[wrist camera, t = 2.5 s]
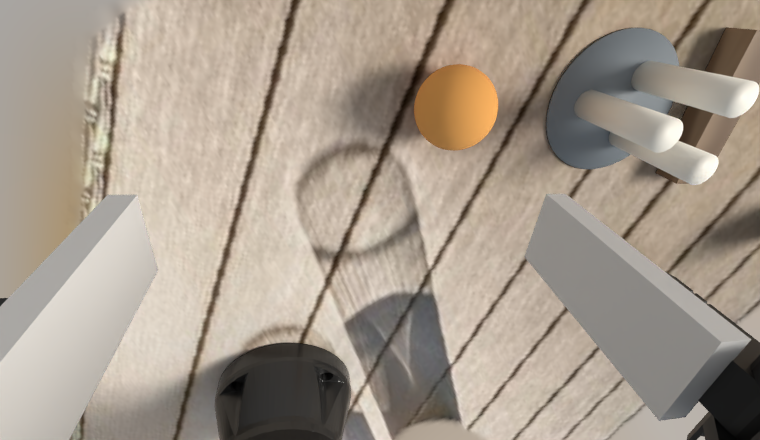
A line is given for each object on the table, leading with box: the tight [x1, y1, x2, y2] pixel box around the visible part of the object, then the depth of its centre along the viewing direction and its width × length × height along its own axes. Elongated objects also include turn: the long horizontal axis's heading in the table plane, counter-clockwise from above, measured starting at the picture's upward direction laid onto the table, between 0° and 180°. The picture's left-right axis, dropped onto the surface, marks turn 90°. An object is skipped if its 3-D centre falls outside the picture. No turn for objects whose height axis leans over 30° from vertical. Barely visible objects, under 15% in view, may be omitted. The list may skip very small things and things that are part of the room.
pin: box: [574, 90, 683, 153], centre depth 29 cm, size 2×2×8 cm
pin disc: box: [546, 28, 679, 169], centre depth 33 cm, size 12×12×1 cm
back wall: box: [656, 28, 760, 184], centre depth 33 cm, size 3×13×2 cm, turn 176°
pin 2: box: [609, 132, 718, 185], centre depth 31 cm, size 2×2×8 cm
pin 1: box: [631, 61, 759, 118], centre depth 28 cm, size 2×2×8 cm
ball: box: [414, 64, 498, 150], centre depth 27 cm, size 6×6×6 cm
